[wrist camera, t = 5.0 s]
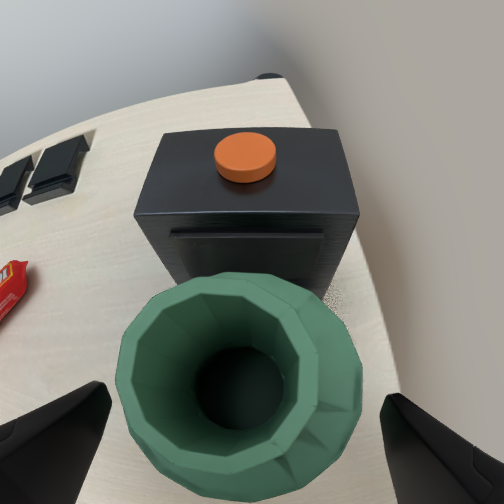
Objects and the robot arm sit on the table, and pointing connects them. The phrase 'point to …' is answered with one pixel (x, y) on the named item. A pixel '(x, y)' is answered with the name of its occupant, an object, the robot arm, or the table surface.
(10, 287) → the candy bar
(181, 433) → the bottle
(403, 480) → the robot arm
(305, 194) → the machine
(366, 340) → the table surface
